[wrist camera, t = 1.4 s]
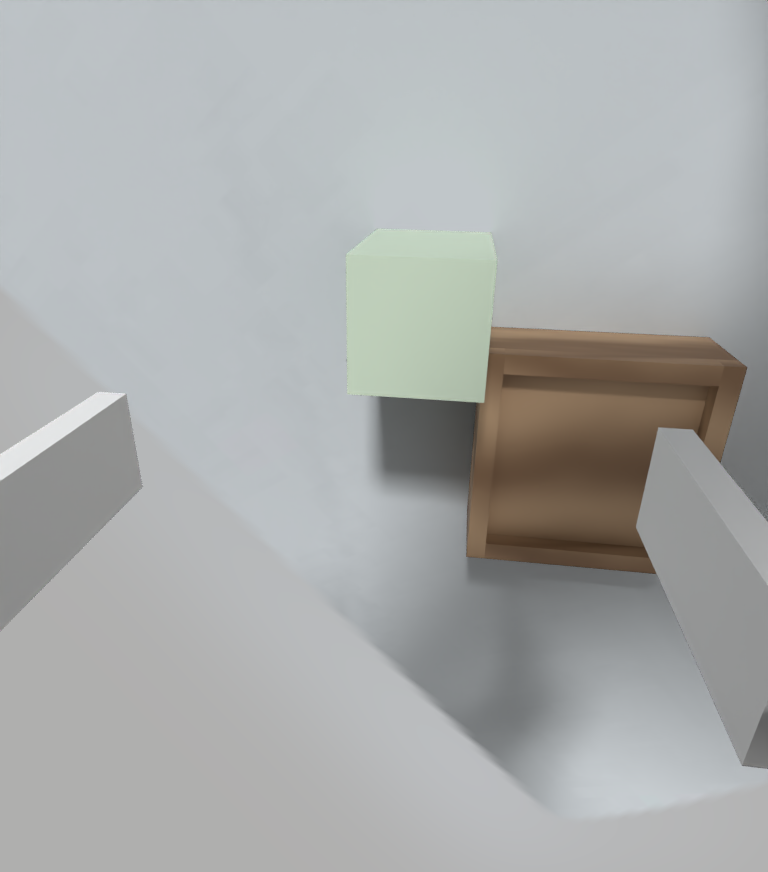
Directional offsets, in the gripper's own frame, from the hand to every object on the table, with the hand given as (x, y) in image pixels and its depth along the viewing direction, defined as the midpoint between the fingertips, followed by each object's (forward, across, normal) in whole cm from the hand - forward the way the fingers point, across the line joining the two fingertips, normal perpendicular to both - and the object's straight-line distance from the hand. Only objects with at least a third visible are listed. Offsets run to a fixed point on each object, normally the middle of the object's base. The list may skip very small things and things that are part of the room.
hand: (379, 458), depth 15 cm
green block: (+20, 0, 0) cm, 20 cm away
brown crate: (+20, +9, -8) cm, 24 cm away
